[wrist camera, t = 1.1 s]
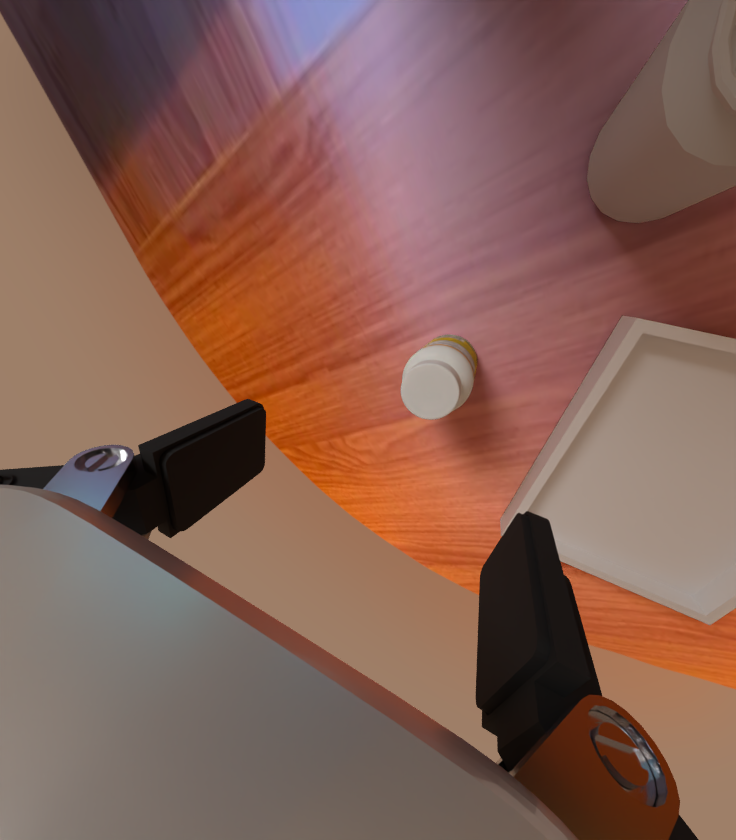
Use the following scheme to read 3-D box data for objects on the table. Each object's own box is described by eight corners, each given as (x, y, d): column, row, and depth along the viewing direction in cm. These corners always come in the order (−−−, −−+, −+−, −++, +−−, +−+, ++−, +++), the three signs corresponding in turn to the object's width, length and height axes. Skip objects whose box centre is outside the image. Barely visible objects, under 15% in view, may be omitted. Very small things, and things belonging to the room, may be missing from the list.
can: (790, 81, 15) (1448, -387, 5) (671, 241, 19) (890, 176, 8) (640, 54, 16) (893, -351, 6) (557, 207, 20) (628, 116, 10)
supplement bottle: (457, 321, 25) (441, 334, 17) (489, 370, 26) (489, 405, 18) (409, 356, 28) (376, 381, 20) (439, 399, 29) (419, 440, 20)
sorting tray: (622, 315, 21) (637, 318, 19) (969, 390, 16) (1040, 404, 14) (500, 519, 31) (501, 535, 29) (692, 599, 27) (709, 625, 25)
